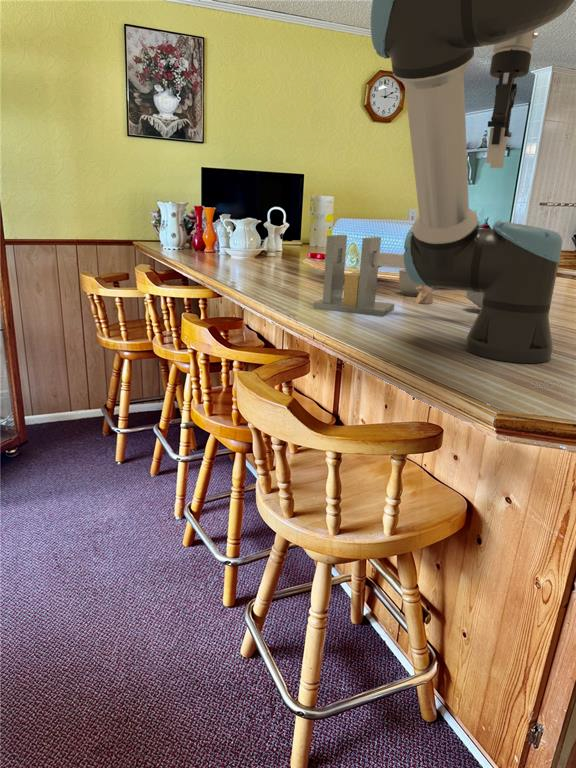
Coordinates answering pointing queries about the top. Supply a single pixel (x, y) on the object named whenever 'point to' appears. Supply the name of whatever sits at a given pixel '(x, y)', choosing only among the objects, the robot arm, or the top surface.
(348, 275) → the tan block
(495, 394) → the top surface
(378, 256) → the shaft
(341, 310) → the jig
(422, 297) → the mouse figurine
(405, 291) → the teacup
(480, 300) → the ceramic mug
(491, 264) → the robot arm
